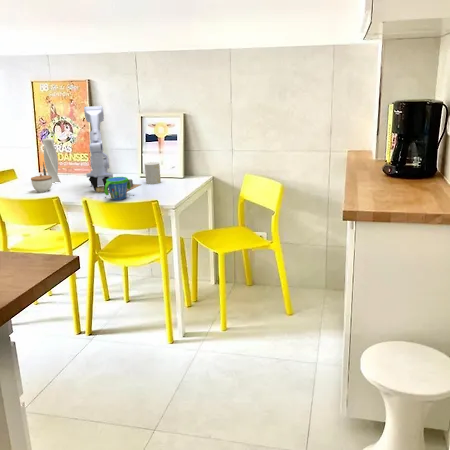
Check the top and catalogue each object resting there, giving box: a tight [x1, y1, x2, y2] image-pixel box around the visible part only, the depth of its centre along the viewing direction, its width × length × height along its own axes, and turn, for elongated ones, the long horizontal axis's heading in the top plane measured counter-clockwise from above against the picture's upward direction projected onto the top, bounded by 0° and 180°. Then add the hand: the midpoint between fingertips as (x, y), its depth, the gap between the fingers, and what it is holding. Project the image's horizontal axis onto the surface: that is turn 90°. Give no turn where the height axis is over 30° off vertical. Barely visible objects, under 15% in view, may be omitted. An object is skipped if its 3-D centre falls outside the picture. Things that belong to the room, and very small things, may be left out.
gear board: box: [108, 183, 143, 192], centre depth 264 cm, size 12×18×4 cm, turn 163°
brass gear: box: [95, 185, 105, 193], centre depth 258 cm, size 6×6×4 cm
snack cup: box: [103, 176, 131, 201], centre depth 245 cm, size 16×10×10 cm
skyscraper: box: [41, 134, 61, 184], centre depth 287 cm, size 8×8×28 cm
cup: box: [144, 161, 162, 185], centre depth 273 cm, size 8×8×12 cm
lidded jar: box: [30, 173, 53, 193], centre depth 269 cm, size 11×11×9 cm
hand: (101, 190), depth 258 cm, fingers closed on brass gear, 5 cm apart
